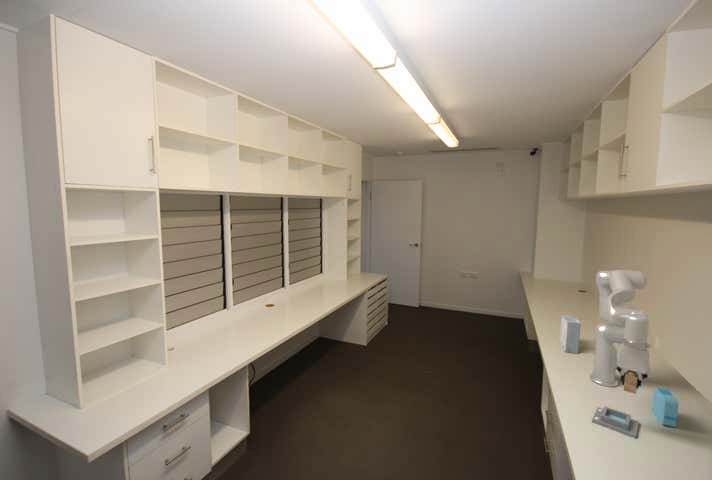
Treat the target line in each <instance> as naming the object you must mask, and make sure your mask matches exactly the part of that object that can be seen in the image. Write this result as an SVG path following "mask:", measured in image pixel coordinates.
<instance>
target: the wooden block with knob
mask: <svg viewBox="0 0 712 480" xmlns="http://www.w3.org/2000/svg"><path fill="white" fill-rule="evenodd" d="M637 379H638V372H634V371H630V370H627V371H626V370H625V381H624V385H623V391H624V392H627V393H632V394H634V395H636V393H637V390H638V389H637V388H636V387H637Z"/></svg>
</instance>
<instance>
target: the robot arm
mask: <svg viewBox="0 0 712 480" xmlns="http://www.w3.org/2000/svg"><path fill="white" fill-rule="evenodd" d="M595 283H596V287H597V289H598V293H599V298H598V299H599V301H598V304H599V305H598V315H599V318H600V319H601V320H603V321H607V322H608V323H605V322H600V323H598V324H596V325H595V327H594V335H595V349H594V361H593V370H592V373H590V374H589V380H591V381H592V382H593V383H596V384H597V385H600V386H605V387H610V388H611V387H614V388H615V387H618V386H619V381H618V380H617V378H616V371H618V372H619V373H620V382H621V384H622V385H623V386H624V381H625V374H626V370H630V371H634V372H637V374H638V379H637V387H636V388H637V389H636V390H639V387H642V381H643V380H645V379H647V378H651V377H654V376H655V373H654V372H653V370H652V369H651V367H650V352H649V349H651V348H652V344H650V343H648V335H649V328H650V327H649V326H650V319H649V316H648V315H647V313H646V312H645V311H644V310H641V309H636V308H635V307H634V306H633V305H629V304H625V303H629V302H632V301H634V299H635V298H636V295H637V294H636V291H635V290H642V289H645V288H646V287H647V283H648V278H647V275H645V273H644V272H642V271H639V270H632V269H631V270H630V269H629V270H628V269H615V270H599V271H597V273H596V275H595ZM613 344H620V345H619V349H618V350H617V348H616V347H615V345H613Z"/></svg>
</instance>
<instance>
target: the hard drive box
mask: <svg viewBox="0 0 712 480" xmlns="http://www.w3.org/2000/svg"><path fill="white" fill-rule="evenodd" d="M581 325H582V324H581V322H580V321H579V320H578V319H577V317H575V315H567V314H564V315H563V314H562V315H561V321H560V334H559V344H560V346H561V347H562V349H563V351H564V352H565V353H572V354H579V346H580V337H581Z"/></svg>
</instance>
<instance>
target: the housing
mask: <svg viewBox="0 0 712 480" xmlns="http://www.w3.org/2000/svg"><path fill="white" fill-rule="evenodd" d="M591 423H594V424H596V425H598V426H601V427H604V428H606V427H607V428H606V429H609V428H610V429H609V430H612V431H614V430H615V432H618V433H620V434H622V435H625V436H628V437H631V438H633V439H637V435H638V429H639V425H640V421H639V420H636V419H632V415H631V414H629V413H626V412H624V411H621V410H617V409H615V408H614V409H613V408H611V407H608V406H604V408H601V407H596V410H595V413H594V414H593V416H592V419H591Z"/></svg>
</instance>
